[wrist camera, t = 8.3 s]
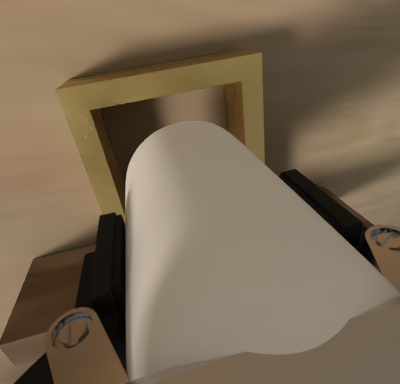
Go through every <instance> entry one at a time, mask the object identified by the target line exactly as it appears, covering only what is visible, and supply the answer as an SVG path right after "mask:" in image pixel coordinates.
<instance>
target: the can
mask: <svg viewBox="0 0 400 384" xmlns="http://www.w3.org/2000/svg"><path fill="white" fill-rule="evenodd" d="M397 296H400V293H399V292H398V291H397V290H396V289H395V287H394V286H393V285H392V284H391V283H390V282H389V281H388V280H387V279H386V278H385V277H384V276H383V275H382V274H381V273H380V272H379V271H378V270H377V269H376V268H375V267H374V266H373V265H372V264H371V263H370V262H369V261H368V260H366V259H365V258H364V257H363V256H362V255H361V254H360V253H359V252H358V251H357V250H356V249H355V248H354V247H353V246H352V245H351V244H350V243H349V242H348V241H346V240H345V239H344V238H343V237H342V236H341V235H340V234H339V233H338V232H337V231H336V230H335V229H334V228H333V227H332V226H330V225H329V224H328V223H327V222H326V221H325V220H324V219H323V218H322V217H321V216H320V215H319V214H318V213H317V212H316V211H314V210H313V209H312V208H311V207H310V206H309V205H308V204H307V203H306V202H305V201H304V200H303V199H302V198H301V197H299V196H298V195H297V194H296V193H295V192H294V191H293V190H292V189H291V188H290V187H289V186H288V185H287V184H286V183H284V182H283V181H282V180H281V179H280V178H279V177H278V176H277V175H276V174H275V173H274V172H273V171H272V170H270V169H269V168H268V167H267V166H266V165H265V164H264V163H263V162H262V161H261V160H260V159H259V158H257V157H256V156H255V155H254V154H253V153H252V152H251V151H250V150H249V149H248V148H247V147H245V146H244V145H243V144H242V143H241V142H240V141H239V140H238V139H236V138H235V137H234V136H233V135H232V134H231V133H229V132H228V131H226V130H225V129H223V128H221V127H220V126H218V125H215V124H213V123H210V122H206V121H184V122H179V123H174V124H171V125H168V126H165V127H163V128H161V129H159V130H157V131H156V132H154V133H153V134H151V135H150V136H149V137H148V138H146V139H145V140H144V141H143V142H142V143H141V145H140V146H139V147H138V148H137V150H136V151H135V153H134V154H133V156H132V158H131V161H130V163H129V166H128V170H127V175H126V189H125V299H126V374H127V376H128V379H129V381H133V380H136V379H139V378H142V377H145V376H148V375H151V374H154V373H157V372H160V371H163V370H166V369H169V368H172V367H175V366H180V365H186V364H191V363H196V362H201V361H206V360H211V359H216V358H220V357H225V356H229V355H234V354H238V353H242V352H252V353H259V354H275V355H283V354H294V353H300V352H304V351H307V350H310V349H313V348H315V347H318V346H320V345H321V344H323V343H325V342H327V341H328V340H329V339H331V338H332V337H333V336H334V335H336V334H337V333H338V332H339V331H340V330H341V329H342V328H343V327H344V326H345V325H346V323H347V322H348V320H349V319H350V318H353V317H355V316H357V315H359V314H362V313H364V312H366V311H368V310H370V309H372V308H374V307H376V306H378V305H380V304H382V303H383V302H385V301H387V300H389V299H391V298H394V297H397Z"/></svg>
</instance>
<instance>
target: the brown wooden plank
mask: <svg viewBox="0 0 400 384" xmlns="http://www.w3.org/2000/svg"><path fill="white" fill-rule="evenodd" d="M320 189H321V190H323V191H324V192H325V193H326V194H328V195H329V196H330V197H331V198H333V199H334V200H335V201H337V202H338V203H339V204H340V205H342V206H343V207H344V208H345V209H347V210H348V211H349V212H350V213H352V214H353V215H354V216H356V217H357V218H358V219H359V220H361V221H362V222H363V225H364V226H365V227H367V228H368V229H369V228H370V227H373V226H374V225H373V224H371V223H370V222H369V221H368V220H366V219H365V218H364V217H362V216H361V215H360V214H358V213H357V212H356V211H354V210H353V209H352V208H351V207H349V206H348V205H347V204H345V203H344V202H343V201H341V200H340V199H339V198H337V197H336V196H335V195H334V194H332V193H331V192H330V191H328V190H327V189H326V188H324V187H320ZM95 248H96V244H93V245H89V246H85V247H81V248H77V249H73V250H69V251H65V252H61V253H57V254H53V255H49V256H45V257H41V258H37V259H33V261H32V264H31V266H30V269H29V271H28V274H27V276H26V279H25V281H24V283H23V286H22V288H21V291H20V293H19V296H18V298H17V301H16V303H15V305H14V308H13V310H12V313H11V315H10V318H9V320H8V323H7V325H6V328H5V330H4V332H3V335H2V337H1V340H0V349H1V350H2V351H3V352H4V353H5V355H6V356H7V357H8V358H9V359H10V360H11V362H12V363H13V364H14V365H15V366H16V365H20V364H23V363H26V362H30V361H33V360H37V359H39V358H40V357H41V356H42V355H43V354H44V353H45V352H46V349H45V336H46V333H47V331H48V330H49V328H50V326H51V325H52V324H53V323H54V322H55V321H56V320H57V319H58V318H59V317H60V316H62V315H63V314H64V313H66V312H68V311H70V310H72V309H75V303H76V298H77V293H78V287H79V282H80V276H81V271H82V265H83V260H84V256H85V254H86V253H90V252H94V251H95Z"/></svg>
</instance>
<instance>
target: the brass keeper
mask: <svg viewBox="0 0 400 384" xmlns="http://www.w3.org/2000/svg"><path fill="white" fill-rule="evenodd" d="M219 85H224V95H225V106H226V117H227V128H228V132H229V133H231V134H232V135H233V136H234V137H235V138H236V139H238V140H239V141H240V142H241V143H242V144H243V145H244V146H245V147H247V148H248V149H249V150H250V151H251V152H252V153H253V154H254V155H255V156H256V157H257V158H259V159H260V160H261V161H262V162H263V163H264V164H265V149H264V110H263V70H262V53H261V52H254V51H246V50H234V51H229V52H223V53H217V54H212V55H206V56H200V57H195V58H189V59H183V60H178V61H172V62H166V63H161V64H155V65H149V66H144V67H138V68H132V69H127V70H121V71H115V72H110V73H104V74H98V75H93V76H87V77H81V78H76V79H70V80H67V81H66V82H65V83H63V84H62V85H61V86H60V87H58V88H57V89H56V93H57V95H58V98H59V100H60V103H61V106H62V108H63V111H64V114H65V116H66V119H67V121H68V124H69V127H70V129H71V132H72V135H73V137H74V140H75V142H76V145H77V148H78V150H79V153H80V156H81V158H82V161H83V163H84V166H85V169H86V171H87V174H88V177H89V179H90V182H91V184H92V187H93V190H94V192H95V195H96V198H97V200H98V203H99V205H100V208H101V211H102V213H103V215H104V214H109V213H113V212H115V213H116V215H120V214H121V215H122V217H123V220H124V223H125V188H124V185H123V182H122V179H121V175H120V172H119V169H118V166H117V163H116V159H115V156H114V153H113V150H112V147H111V144H110V140H109V137H108V134H107V131H106V128H105V125H104V121H103V118H102V115H101V112H100V109H99V108H104V107H109V106H114V105H120V104H125V103H130V102H135V101H140V100H146V99H151V98H156V97H161V96H166V95H172V94H177V93H182V92H187V91H193V90H198V89H203V88H208V87H213V86H219Z"/></svg>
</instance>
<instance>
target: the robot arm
mask: <svg viewBox="0 0 400 384" xmlns="http://www.w3.org/2000/svg"><path fill="white" fill-rule="evenodd" d="M278 177H279V178H280V179H281V180H282V181H283V182H284V183H286V184H287V185H288V186H289V187H290V188H291V189H292V190H293V191H294V192H295V193H296V194H297V195H298V196H299V197H301V198H302V199H303V200H304V201H305V202H306V203H307V204H308V205H309V206H310V207H311V208H312V209H313V210H314V211H316V212H317V213H318V214H319V215H320V216H321V217H322V218H323V219H324V220H325V221H326V222H327V223H328V224H329V225H330V226H332V227H333V228H334V229H335V230H336V231H337V232H338V233H339V234H340V235H341V236H342V237H343V238H344V239H345V240H346V241H348V242H349V243H350V244H351V245H352V246H353V247H354V248H355V249H356V250H357V251H358V252H359V253H360V254H361V255H362V256H363V257H364V258H365V259H366V260H368V261H369V262H370V263H371V264H372V265H373V266H374V267H375V268H376V269H377V270H378V271H379V272H380V273H381V274H382V275H383V276H384V277H385V278H386V279H387V280H388V281H389V282H390V283H391V284H392V285H393V286H394V287H395V289H396V290H397V291H398V292H399V293H400V228H398V227H395V226H390V225H375V226H373V227H370V228H369V229H368V228H367V227H365V226H364V225H363V222H362V221H361V220H359V219H358V218H357V217H356V216H354V215H353V214H352V213H350V212H349V211H348V210H347V209H345V208H344V207H343V206H342V205H340V204H339V203H338V202H337V201H335V200H334V199H333V198H331V197H330V196H329V195H328V194H326V193H325V192H324V191H323V190H321V189H320V188H319V187H318V186H316V185H315V184H314V183H313V182H311V181H310V180H309V179H307V178H306V177H305V176H304V175H302V174H301V173H300V172H299V171H297V170H296V169H293V170H289V171H285V172H281V174H280V176H278ZM45 349H46V352H45V353H44V354H43V355H42V356H41V357H40V358H39V359H38V360H37V361H36V362H35V363H34V364H33V365H32V366H31V367H30V368H29V369H28V370H27V371H26V372H25V373H24V374H23V375H22V376H21V377H20V378H19V379H18V380H17V381H16V382H15V383H14V384H400V296H397V297H394V298H391V299H389V300H387V301H385V302H383V303H382V304H380V305H378V306H376V307H374V308H372V309H370V310H368V311H366V312H364V313H362V314H359V315H357V316H355V317H353V318H350V319H349V320H348V322H347V323H346V325H345V326H344V327H343V328H342V329H341V330H340V331H339V332H338V333H337V334H336V335H334V336H333V337H332V338H331V339H329V340H328V341H327V342H325V343H323V344H321V345H320V346H318V347H315V348H313V349H310V350H307V351H304V352H300V353H294V354H283V355H275V354H259V353H252V352H242V353H238V354H234V355H229V356H225V357H220V358H216V359H211V360H206V361H201V362H196V363H191V364H186V365H180V366H175V367H172V368H169V369H166V370H163V371H160V372H157V373H154V374H151V375H148V376H145V377H142V378H139V379H136V380H133V381H129V379H128V376H127V374H126V299H125V223H124V220H123V217H122V215H121V214H120V215H116V213H115V212H113V213H109V214H104V215H101V216H100V219H99V226H98V233H97V241H96V248H95V251H94V252H90V253H86V254H85V256H84V260H83V265H82V271H81V276H80V282H79V287H78V293H77V298H76V303H75V309H72V310H70V311H68V312H66V313H64V314H63V315H62V316H60V317H59V318H58V319H57V320H56V321H55V322H54V323H53V324H52V325H51V326H50V328H49V330H48V331H47V333H46V336H45Z"/></svg>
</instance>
